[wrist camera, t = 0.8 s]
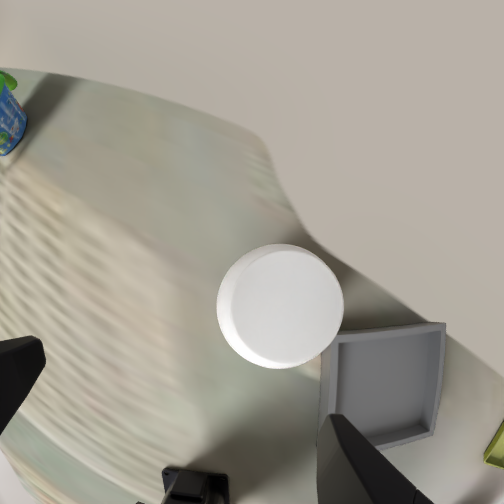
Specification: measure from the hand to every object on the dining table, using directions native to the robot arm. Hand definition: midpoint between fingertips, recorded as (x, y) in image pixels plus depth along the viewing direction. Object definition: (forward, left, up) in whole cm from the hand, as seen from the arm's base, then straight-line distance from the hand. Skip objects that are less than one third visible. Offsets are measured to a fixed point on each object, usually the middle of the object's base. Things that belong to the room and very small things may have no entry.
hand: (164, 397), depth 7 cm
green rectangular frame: (-20, -38, -17) cm, 46 cm away
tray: (-6, -14, -17) cm, 22 cm away
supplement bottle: (+2, -4, -17) cm, 18 cm away
